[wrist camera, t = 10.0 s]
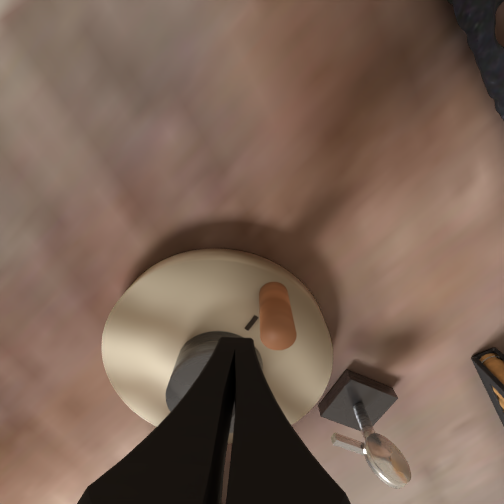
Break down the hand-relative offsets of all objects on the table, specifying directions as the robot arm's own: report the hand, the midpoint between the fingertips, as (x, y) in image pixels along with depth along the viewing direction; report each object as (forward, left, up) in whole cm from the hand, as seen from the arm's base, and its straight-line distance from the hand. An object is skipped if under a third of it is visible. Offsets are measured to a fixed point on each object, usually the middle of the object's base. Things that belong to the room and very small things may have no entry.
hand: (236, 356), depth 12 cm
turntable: (-5, +4, -8) cm, 11 cm away
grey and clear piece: (-14, -3, -8) cm, 17 cm away
